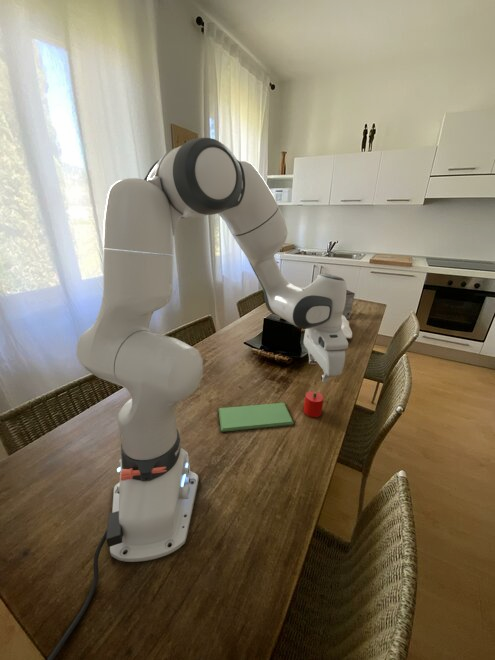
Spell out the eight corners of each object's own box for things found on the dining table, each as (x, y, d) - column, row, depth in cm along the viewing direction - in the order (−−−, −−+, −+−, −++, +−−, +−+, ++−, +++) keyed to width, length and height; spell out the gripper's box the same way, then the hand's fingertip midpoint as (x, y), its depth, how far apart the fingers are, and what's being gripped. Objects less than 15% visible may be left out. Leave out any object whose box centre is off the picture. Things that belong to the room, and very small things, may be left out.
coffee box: (332, 314, 177) (336, 289, 171) (341, 313, 179) (345, 288, 173) (341, 319, 169) (345, 293, 163) (350, 318, 171) (355, 292, 165)
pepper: (324, 416, 89) (327, 397, 86) (307, 418, 88) (309, 399, 85) (317, 405, 94) (320, 387, 91) (301, 406, 93) (303, 388, 90)
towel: (293, 424, 85) (293, 422, 84) (221, 432, 81) (221, 429, 81) (284, 403, 94) (284, 401, 94) (218, 409, 90) (218, 407, 90)
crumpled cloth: (298, 338, 139) (303, 321, 135) (314, 316, 168) (318, 302, 164) (346, 354, 132) (352, 338, 128) (353, 328, 161) (359, 314, 157)
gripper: (300, 318, 88) (296, 356, 94) (328, 348, 70) (321, 393, 76) (319, 317, 89) (314, 355, 95) (352, 346, 71) (343, 391, 77)
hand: (318, 372), depth 85 cm, fingers open, 8 cm apart
